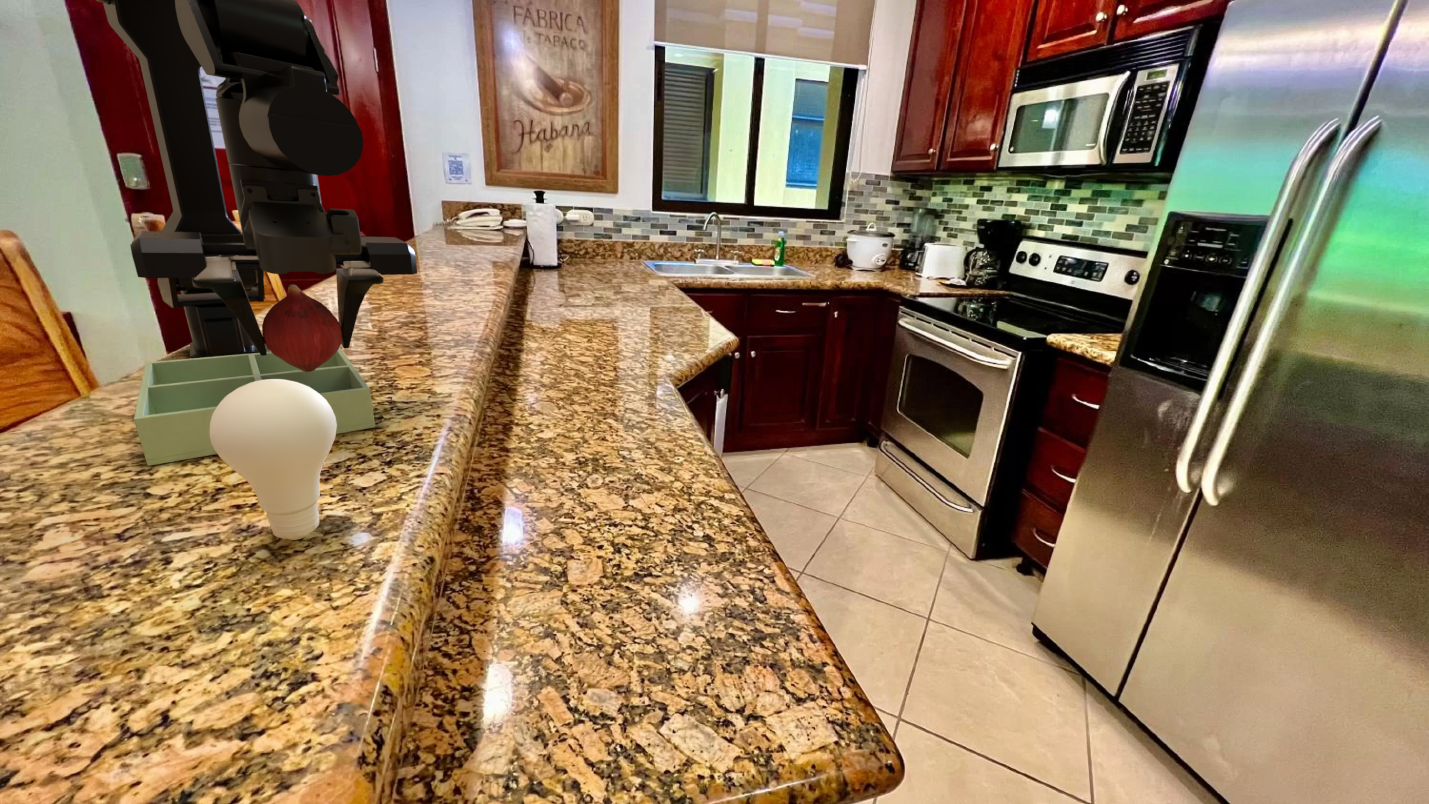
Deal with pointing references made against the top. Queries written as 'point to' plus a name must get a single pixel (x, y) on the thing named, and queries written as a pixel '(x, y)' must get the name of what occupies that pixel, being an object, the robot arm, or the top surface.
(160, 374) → the divided tray
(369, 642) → the top surface
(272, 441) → the lightbulb
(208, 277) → the robot arm
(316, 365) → the onion
